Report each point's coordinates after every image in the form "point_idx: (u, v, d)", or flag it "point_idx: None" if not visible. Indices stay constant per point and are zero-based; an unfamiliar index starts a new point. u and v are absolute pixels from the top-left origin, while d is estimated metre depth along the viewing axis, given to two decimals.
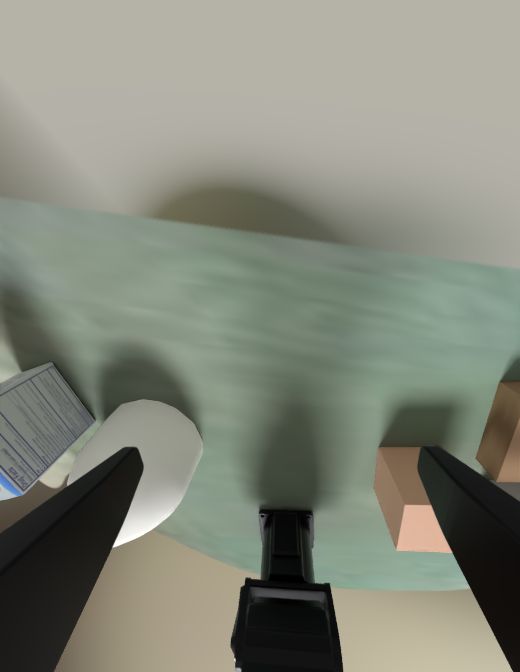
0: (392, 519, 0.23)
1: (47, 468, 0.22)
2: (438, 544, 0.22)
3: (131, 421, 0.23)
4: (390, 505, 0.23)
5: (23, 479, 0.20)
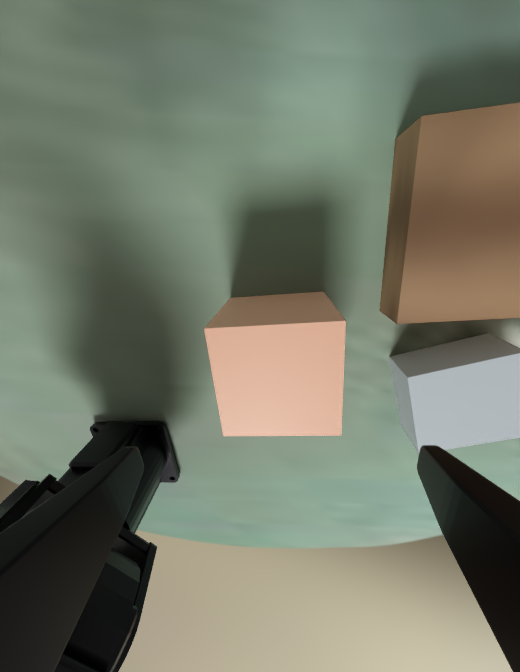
0: None
1: None
2: (286, 418, 0.12)
3: None
4: None
5: None
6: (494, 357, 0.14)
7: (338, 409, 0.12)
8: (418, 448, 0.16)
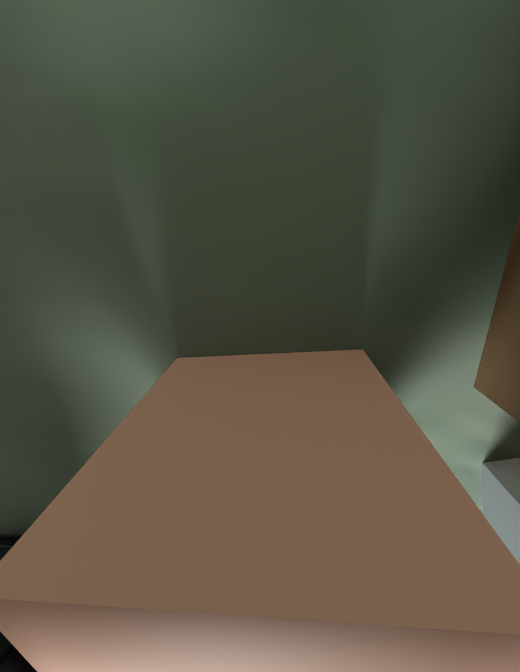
0: None
1: None
2: None
3: None
4: None
5: None
6: None
7: None
8: None
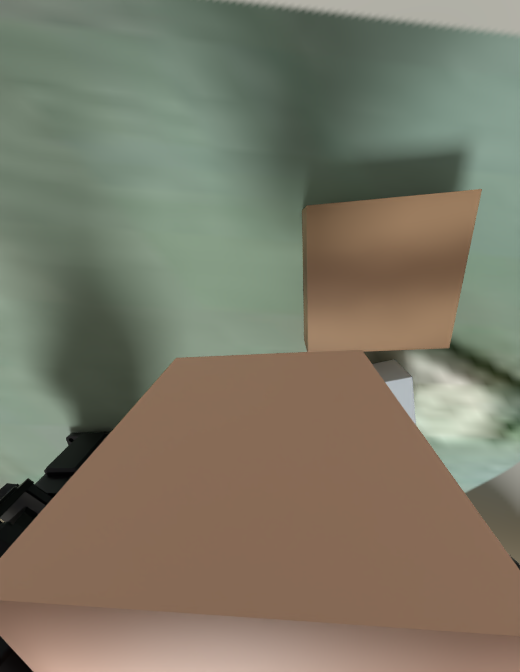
0: None
1: None
2: None
3: None
4: None
5: None
6: (388, 380, 0.17)
7: None
8: None
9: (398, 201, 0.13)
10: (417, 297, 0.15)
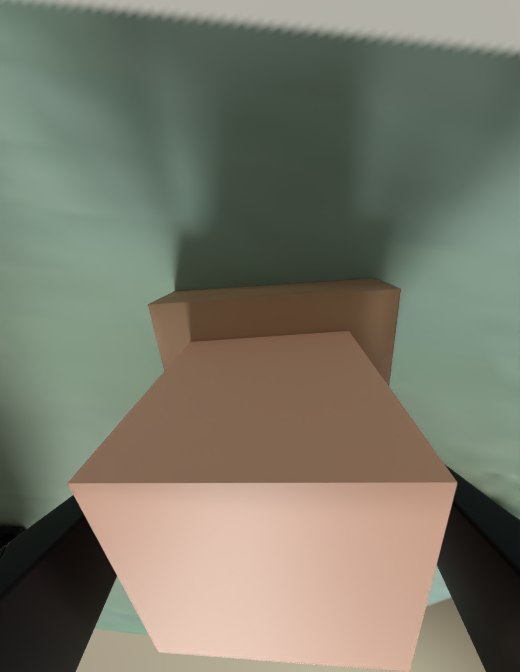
0: None
1: None
2: (288, 640, 0.06)
3: None
4: None
5: None
6: None
7: (409, 638, 0.05)
8: None
9: (278, 302, 0.09)
10: None
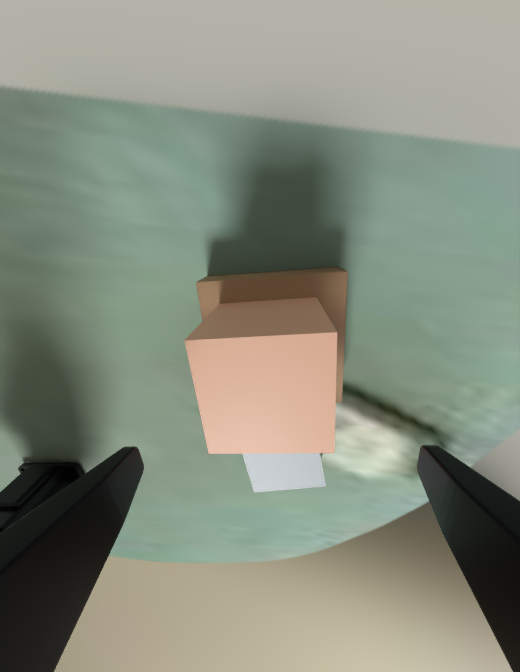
0: None
1: None
2: (275, 434, 0.11)
3: None
4: None
5: None
6: None
7: (331, 426, 0.11)
8: (253, 488, 0.21)
9: (276, 280, 0.15)
10: None
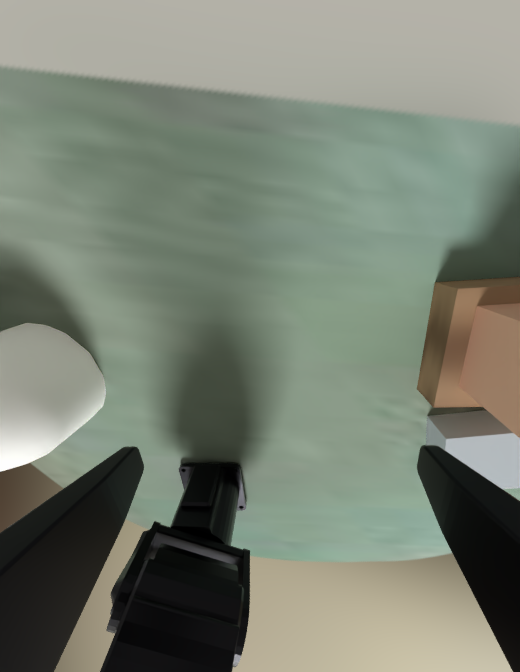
0: None
1: None
2: None
3: None
4: (515, 382, 0.13)
5: None
6: (509, 432, 0.19)
7: None
8: None
9: None
10: None
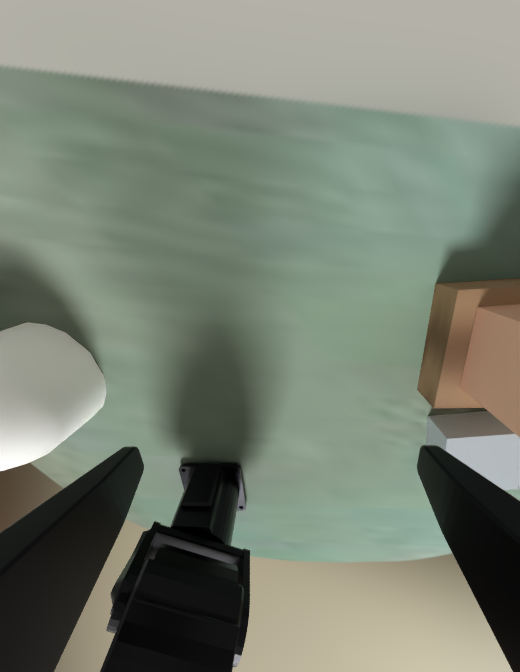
0: None
1: None
2: None
3: None
4: (517, 382, 0.13)
5: None
6: (510, 433, 0.19)
7: None
8: None
9: None
10: None
